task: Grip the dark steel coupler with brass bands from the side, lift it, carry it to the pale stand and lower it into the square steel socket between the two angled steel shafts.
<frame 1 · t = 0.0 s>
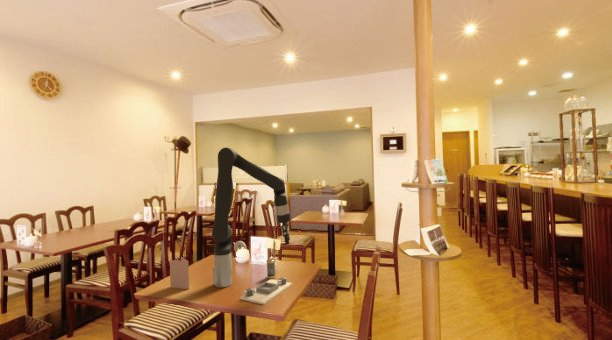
hand: (287, 242, 166), 22 cm above the table, tool pointing down, fingers open, 8 cm apart
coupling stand: (267, 291, 154), on the table
coupler: (271, 277, 175), on the table
greeting card: (179, 287, 163), on the table
donut: (240, 254, 224), on the table
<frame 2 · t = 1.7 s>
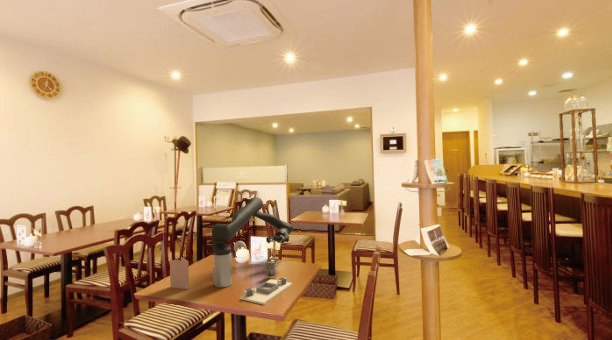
hand: (275, 241, 186), 18 cm above the table, tool horizontal, fingers open, 8 cm apart
nothing on the table moved.
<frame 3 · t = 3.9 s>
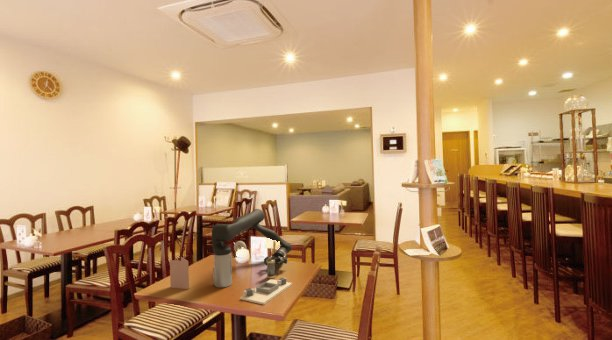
hand: (273, 263, 181), 6 cm above the table, tool horizontal, fingers open, 8 cm apart
nothing on the table moved.
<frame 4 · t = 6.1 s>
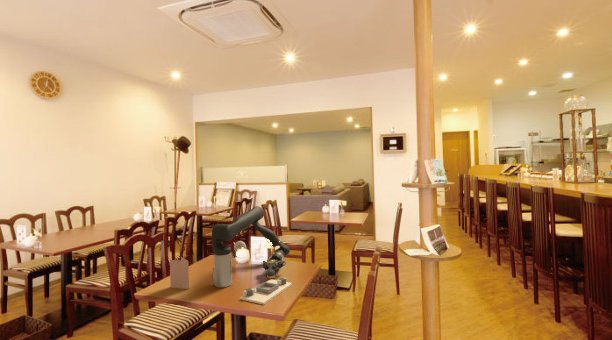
hand: (269, 268, 172), 6 cm above the table, tool horizontal, fingers closed on coupler, 4 cm apart
coupler: (271, 277, 175), on the table, touching gripper
everything else where it was.
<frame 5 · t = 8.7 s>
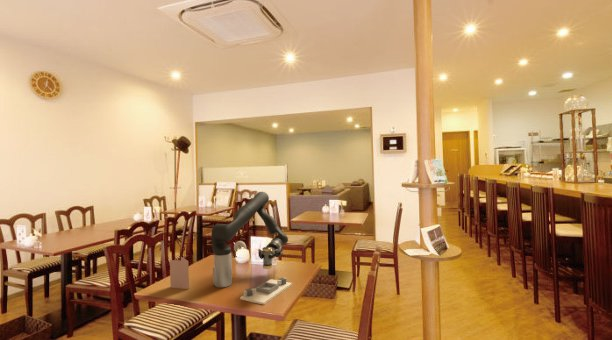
hand: (266, 257, 154), 18 cm above the table, tool horizontal, fingers closed on coupler, 4 cm apart
coupler: (267, 267, 157), point 12 cm above the table, touching gripper
everything else where it was.
when the fingers open (9 cm above the table, at t = 11.5 s): coupler drops 2 cm, resting on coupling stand.
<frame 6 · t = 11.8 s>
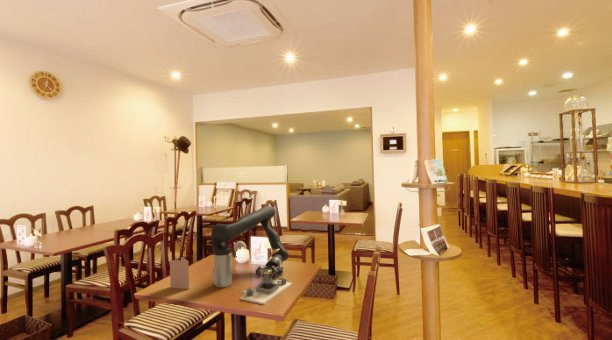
hand: (266, 275, 152), 9 cm above the table, tool horizontal, fingers open, 7 cm apart
coupler: (267, 289, 154), point 1 cm above the table, touching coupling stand
everything else where it was.
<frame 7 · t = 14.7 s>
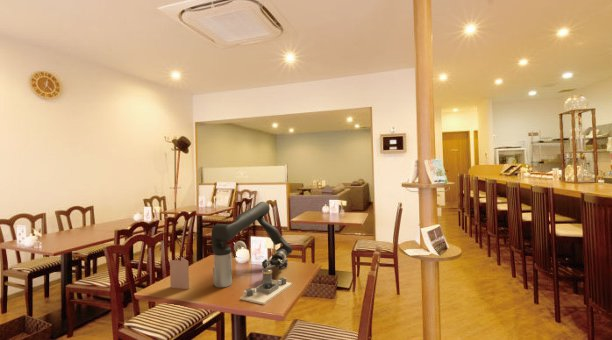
hand: (272, 267, 165), 9 cm above the table, tool horizontal, fingers open, 8 cm apart
nothing on the table moved.
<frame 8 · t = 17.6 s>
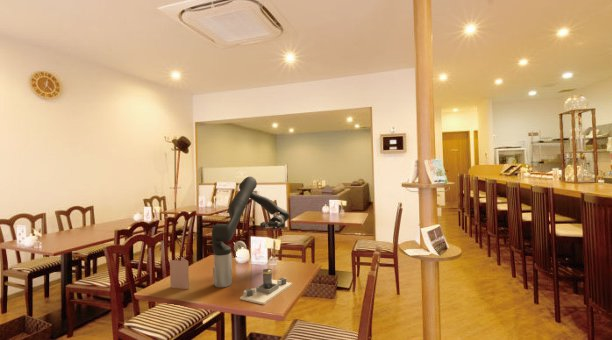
hand: (270, 227, 170), 30 cm above the table, tool horizontal, fingers open, 8 cm apart
nothing on the table moved.
at the end: coupler 0.1 cm off-centre on the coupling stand, point 1.0 cm above the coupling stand's base; coupler tilted 0°; the gripper is holding nothing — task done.
